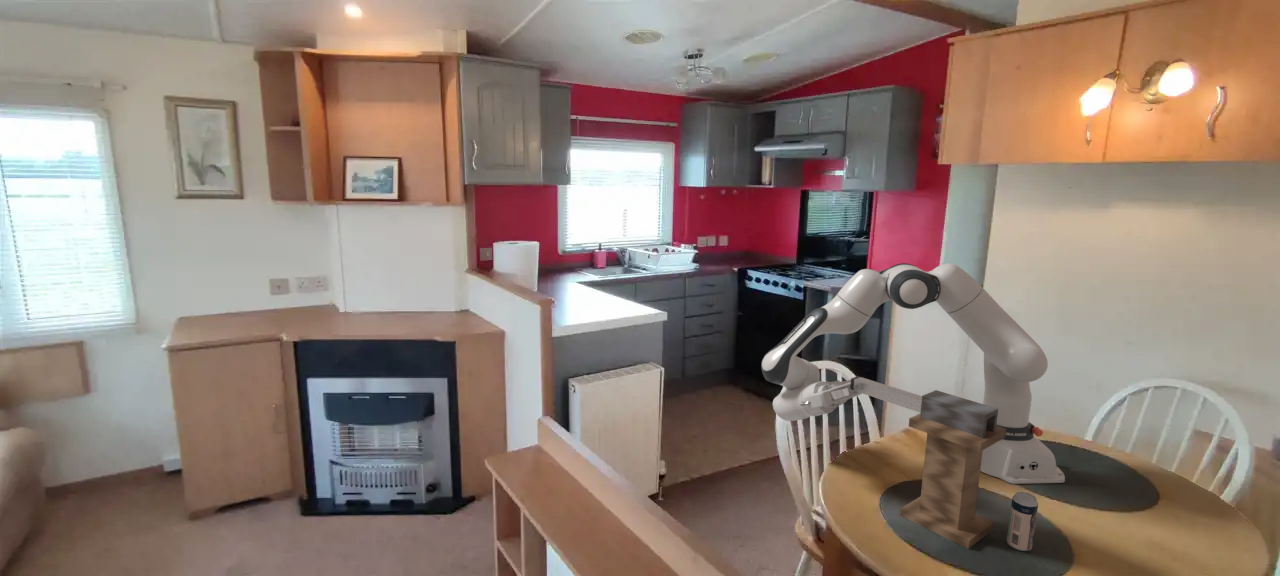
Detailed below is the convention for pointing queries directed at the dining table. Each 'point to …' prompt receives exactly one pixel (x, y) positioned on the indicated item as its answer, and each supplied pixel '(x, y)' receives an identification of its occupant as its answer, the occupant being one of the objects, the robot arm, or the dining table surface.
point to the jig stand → (953, 466)
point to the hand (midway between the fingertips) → (860, 387)
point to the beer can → (1022, 521)
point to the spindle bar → (887, 393)
